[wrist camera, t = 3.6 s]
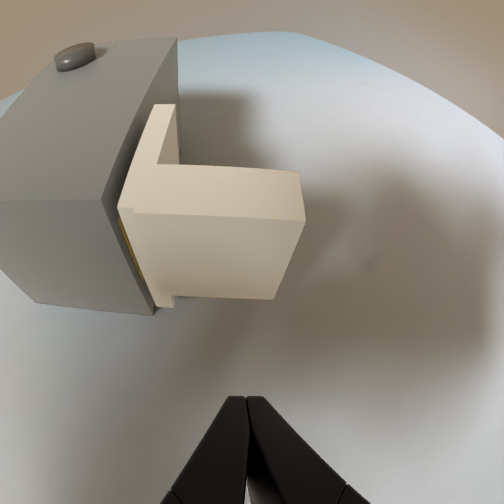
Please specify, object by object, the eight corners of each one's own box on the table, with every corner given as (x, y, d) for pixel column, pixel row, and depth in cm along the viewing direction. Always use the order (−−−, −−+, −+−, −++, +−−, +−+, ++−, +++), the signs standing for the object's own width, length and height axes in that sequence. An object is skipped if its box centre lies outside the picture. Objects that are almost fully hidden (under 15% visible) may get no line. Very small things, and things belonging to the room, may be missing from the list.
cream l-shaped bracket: (260, 328, 14) (306, 221, 7) (154, 323, 13) (101, 212, 7) (258, 221, 17) (284, 92, 10) (169, 217, 16) (152, 86, 10)
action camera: (153, 315, 15) (95, 181, 7) (35, 302, 14) (-65, 192, 6) (185, 133, 22) (183, 17, 14) (98, 135, 21) (76, 29, 13)
